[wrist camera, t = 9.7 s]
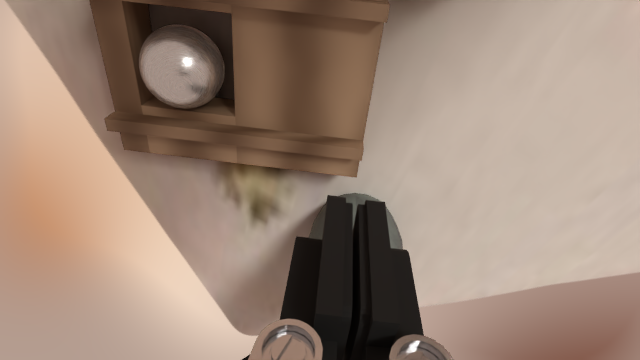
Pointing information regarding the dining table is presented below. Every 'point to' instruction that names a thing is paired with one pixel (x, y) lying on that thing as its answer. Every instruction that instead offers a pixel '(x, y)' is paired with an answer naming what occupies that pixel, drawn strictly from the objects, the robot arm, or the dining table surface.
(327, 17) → the wooden box
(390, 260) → the robot arm
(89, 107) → the dining table surface
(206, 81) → the steel ball
